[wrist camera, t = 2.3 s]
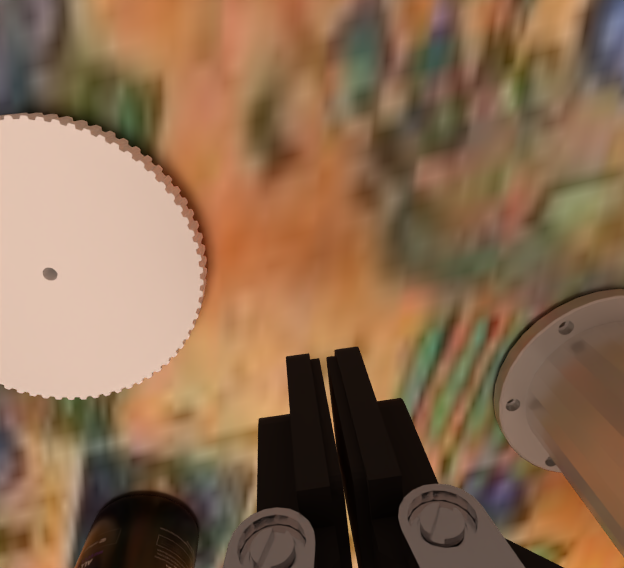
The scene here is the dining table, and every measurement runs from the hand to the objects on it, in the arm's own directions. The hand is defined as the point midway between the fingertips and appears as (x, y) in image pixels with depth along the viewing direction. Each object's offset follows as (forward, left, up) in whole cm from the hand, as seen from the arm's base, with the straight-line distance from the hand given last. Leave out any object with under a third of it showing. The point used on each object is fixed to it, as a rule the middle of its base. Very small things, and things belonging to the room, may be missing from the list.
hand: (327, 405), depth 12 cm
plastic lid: (+12, 0, -16) cm, 19 cm away
